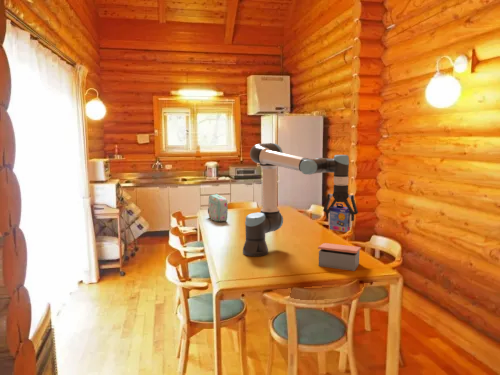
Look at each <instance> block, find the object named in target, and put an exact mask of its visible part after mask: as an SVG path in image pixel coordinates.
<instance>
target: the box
mask: <svg viewBox="0 0 500 375" xmlns="http://www.w3.org/2000/svg"><path fill="white" fill-rule="evenodd" d="M359 265H360V250H359V251H358V252H357V253H349V252H341V251H333V250H325V249H319V251H318V266H319V267H325V268H332V269H336V270H337V269H339V270H344V271H345V270H346V271H351V272H352V271H353V272H355V271H356V270H357V268H358V267H359Z"/></svg>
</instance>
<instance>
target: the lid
mask: <svg viewBox="0 0 500 375" xmlns="http://www.w3.org/2000/svg"><path fill="white" fill-rule="evenodd" d="M317 249H319V250H321V249H325V250H333V251H341V252H349V253H357V252H358V251H359V252H360V250H362V247H360V246H353V245H346V244H345V245H343V244H338V243H337V244H336V243H328V242H324V243H322V244H320V245H318V246H317Z"/></svg>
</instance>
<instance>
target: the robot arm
mask: <svg viewBox="0 0 500 375" xmlns="http://www.w3.org/2000/svg"><path fill="white" fill-rule="evenodd" d="M249 158H250V159H251V161H252V162H254V163H255V164H259V167H260V168H261V169H262V208H261V209H260V212H252V213H249V214H247V215H246V216H245V221H244V224H245V225H244V226H245V228H244V229H245V241H244V244H243V248H242V254H243V255H245V256H248V257H264V256H266V255H268V253H269V248H268V244H267V241H266V234H269V233H271V232H276V231H277V230H280V229H281V228H282V226H283V223H284V217H283V215H282V212H280V209H279V208H278V194H277V193H278V187H277V186H278V180H277V176H278V174H277V173H278V171H277V170H278V168H279V167H280V168H285V169H290V170H293V171H298V172H301V173H302V174H304V175H308V176H309V175H314V174H323V173H331V174H333V189H332V190H333V193H328V194H327V195H326V198H327V199H326V202H325V203H324V207H323V210H322V212H324V213H326V219H328V221H327V224H328V226H330V207H333V206H336V203H344V205H345V207H347V208H348V209H349V211H350V213H351V214H350V228H352V227H353V222H354V221H355V215H357V214H359V211H358V207H357V204H356V201H355V195H354V194H349V176H350V175H349V170H350V169H349V166H350V158H349V155H348V154H335V155H334V156H333V158H330V157H328V158H327V157H317V158H309V157H303V156H299V155H294V154H289V153H285V152H284V153H283V149H282V147H281V146H280V145H279V144H277V143H274V142H273V143H271V142H270V143H269V142H268V143H257V144H254V145H253V146H252V147H251V148H250V151H249ZM331 198H333V201H332V203H331V204H330V201H331ZM348 198H349V199H350V202H351V204H350V202H349V200H348ZM329 205H330V206H329ZM351 205H352V206H351Z"/></svg>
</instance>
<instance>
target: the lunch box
mask: <svg viewBox="0 0 500 375" xmlns="http://www.w3.org/2000/svg"><path fill="white" fill-rule="evenodd" d="M228 212H229V211H228V200H227V198H226V197H225V196H222V195H219V194H218V193H215V194H210V195H209V197H208V208H207V214H208V218H209V219H211V220H212V221H215V222H218V223H219V222H227V220H228V214H229V213H228Z"/></svg>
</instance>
